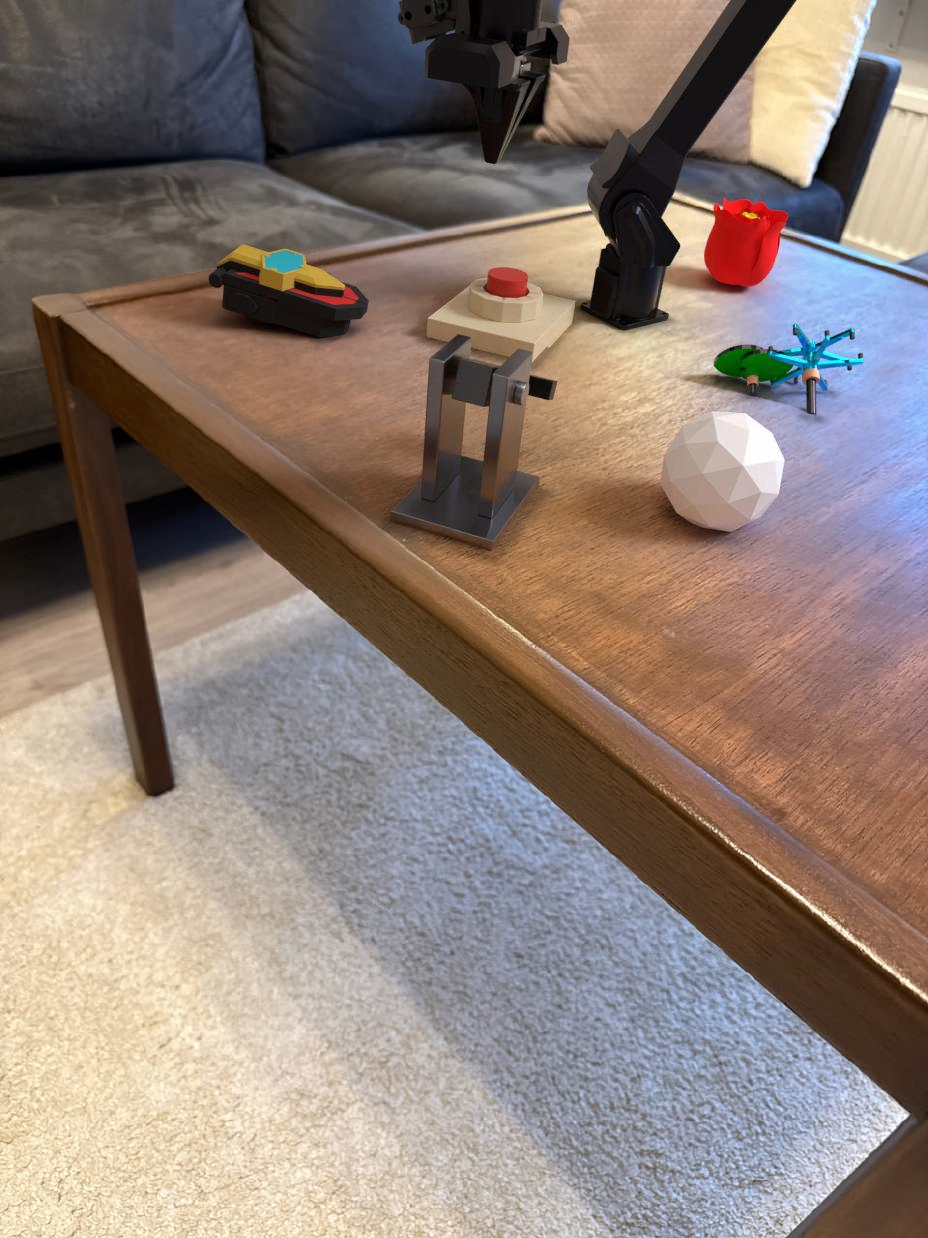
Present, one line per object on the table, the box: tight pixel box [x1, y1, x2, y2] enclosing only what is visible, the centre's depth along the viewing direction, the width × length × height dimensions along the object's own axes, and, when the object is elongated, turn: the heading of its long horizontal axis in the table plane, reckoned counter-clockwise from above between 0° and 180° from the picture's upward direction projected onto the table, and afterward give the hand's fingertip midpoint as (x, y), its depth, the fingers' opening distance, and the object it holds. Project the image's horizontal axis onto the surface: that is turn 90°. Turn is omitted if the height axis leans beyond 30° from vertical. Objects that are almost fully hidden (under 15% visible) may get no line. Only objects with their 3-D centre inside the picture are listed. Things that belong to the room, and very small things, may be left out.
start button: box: [486, 266, 529, 298], centre depth 85 cm, size 4×4×2 cm
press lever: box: [451, 358, 558, 408], centre depth 61 cm, size 11×5×2 cm, turn 158°
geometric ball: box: [659, 410, 786, 533], centre depth 62 cm, size 8×8×8 cm
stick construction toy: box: [713, 323, 864, 417], centre depth 80 cm, size 12×7×8 cm
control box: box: [425, 276, 577, 363], centre depth 86 cm, size 12×10×4 cm
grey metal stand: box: [390, 334, 541, 551], centre depth 60 cm, size 9×7×11 cm
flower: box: [703, 197, 789, 288], centre depth 101 cm, size 8×8×8 cm
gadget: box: [208, 243, 370, 338], centre depth 84 cm, size 6×13×6 cm, turn 78°
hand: (491, 162), depth 84 cm, fingers closed
